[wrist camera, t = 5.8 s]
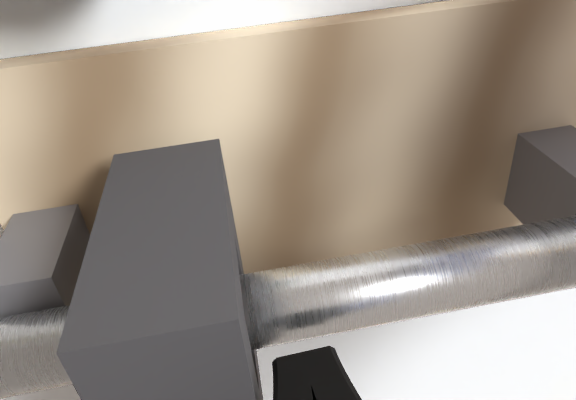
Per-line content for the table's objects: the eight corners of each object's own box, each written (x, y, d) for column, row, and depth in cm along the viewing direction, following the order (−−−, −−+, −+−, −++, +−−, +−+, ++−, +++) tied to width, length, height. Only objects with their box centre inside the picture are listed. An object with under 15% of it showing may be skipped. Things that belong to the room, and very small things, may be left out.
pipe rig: (599, -20, 15) (829, 33, 10) (527, 264, 22) (638, 390, 16) (-60, 67, 13) (-233, 192, 8) (80, 347, 20) (38, 519, 15)
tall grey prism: (219, 138, 14) (238, 319, 8) (250, 308, 18) (278, 511, 12) (113, 154, 14) (56, 353, 8) (169, 323, 18) (157, 538, 12)
